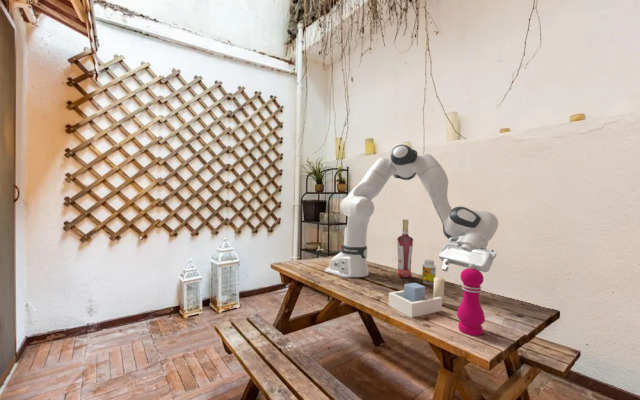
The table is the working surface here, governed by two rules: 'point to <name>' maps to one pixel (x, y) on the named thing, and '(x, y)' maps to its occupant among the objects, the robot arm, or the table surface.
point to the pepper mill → (471, 302)
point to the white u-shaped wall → (414, 304)
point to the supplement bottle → (428, 272)
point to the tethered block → (423, 290)
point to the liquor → (404, 252)
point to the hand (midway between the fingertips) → (454, 273)
